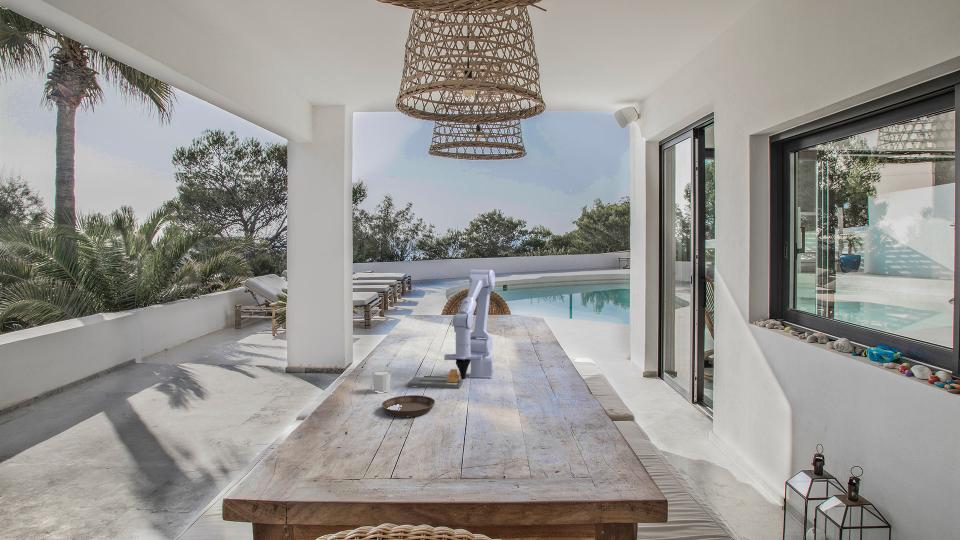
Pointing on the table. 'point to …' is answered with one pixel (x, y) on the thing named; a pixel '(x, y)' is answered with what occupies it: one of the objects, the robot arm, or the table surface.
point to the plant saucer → (409, 405)
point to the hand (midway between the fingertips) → (463, 378)
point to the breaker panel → (434, 382)
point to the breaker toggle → (453, 376)
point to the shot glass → (382, 381)
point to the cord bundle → (436, 376)
